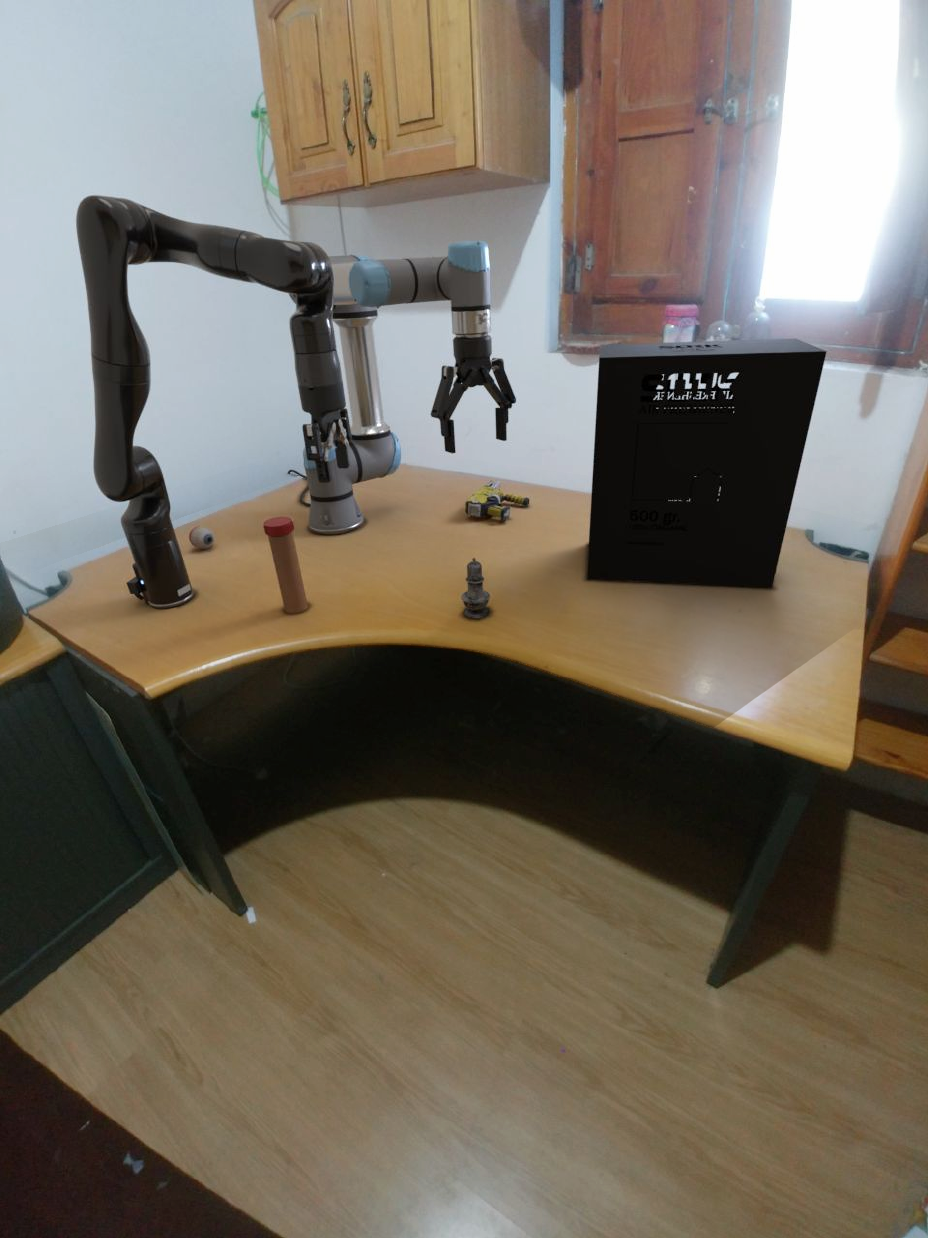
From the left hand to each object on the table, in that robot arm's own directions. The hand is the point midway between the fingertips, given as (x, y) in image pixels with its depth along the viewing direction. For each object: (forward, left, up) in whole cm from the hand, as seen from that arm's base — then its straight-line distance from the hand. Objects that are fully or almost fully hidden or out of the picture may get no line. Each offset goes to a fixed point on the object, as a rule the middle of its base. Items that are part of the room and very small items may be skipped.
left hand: (334, 474), depth 110 cm
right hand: (+21, +25, -1) cm, 33 cm away
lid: (-14, 0, -10) cm, 17 cm away
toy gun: (+19, +65, -29) cm, 74 cm away
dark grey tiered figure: (+24, +4, -29) cm, 38 cm away
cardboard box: (+64, +31, -29) cm, 77 cm away
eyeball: (-54, +28, -29) cm, 67 cm away
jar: (-14, 0, -29) cm, 32 cm away
